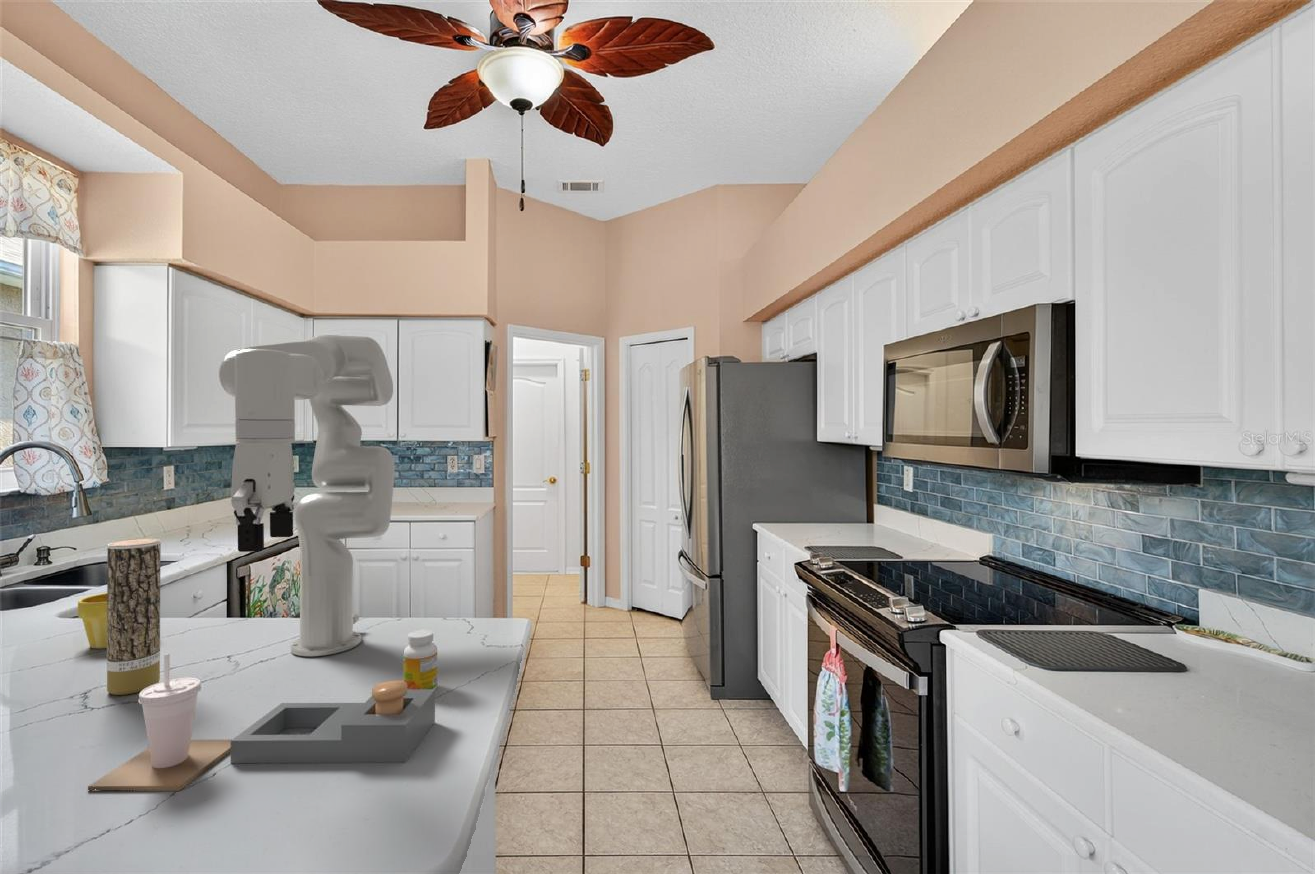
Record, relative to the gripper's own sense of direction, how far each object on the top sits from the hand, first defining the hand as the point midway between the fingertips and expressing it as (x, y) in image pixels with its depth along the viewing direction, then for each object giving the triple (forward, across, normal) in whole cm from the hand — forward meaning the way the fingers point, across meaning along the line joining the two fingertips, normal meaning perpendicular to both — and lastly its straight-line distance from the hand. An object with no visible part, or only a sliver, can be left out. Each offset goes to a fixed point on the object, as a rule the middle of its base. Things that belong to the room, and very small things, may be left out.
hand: (267, 543), depth 90 cm
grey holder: (+26, +10, +13) cm, 31 cm away
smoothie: (+26, +13, -6) cm, 30 cm away
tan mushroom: (+26, +11, +20) cm, 35 cm away
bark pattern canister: (+28, -15, -27) cm, 42 cm away
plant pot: (+29, -40, -47) cm, 68 cm away
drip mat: (+26, +13, -6) cm, 30 cm away
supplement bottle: (+27, -6, +21) cm, 35 cm away
